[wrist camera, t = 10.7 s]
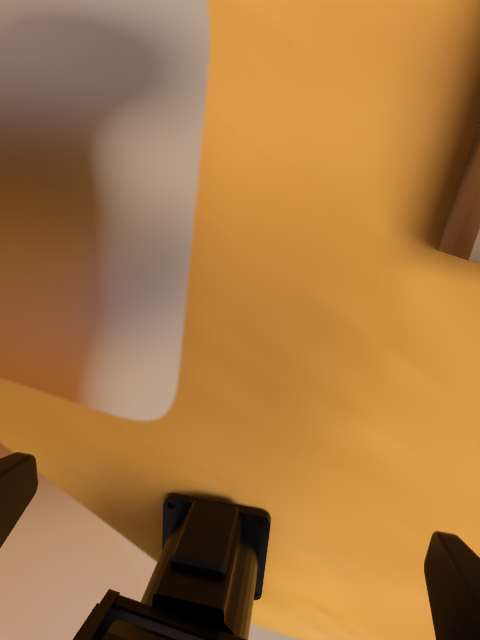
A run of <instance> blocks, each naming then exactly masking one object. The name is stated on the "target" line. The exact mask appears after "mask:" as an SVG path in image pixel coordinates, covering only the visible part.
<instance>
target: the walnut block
mask: <svg viewBox="0 0 480 640" xmlns="http://www.w3.org/2000/svg"><path fill="white" fill-rule="evenodd" d="M438 250H439V251H442V252H445V253H448V254H451V255H454V256H457V257H460V258H463V259H466V260H470V261H476V262H480V123H479V126H478V129H477V132H476V135H475V138H474V141H473V144H472V147H471V150H470V153H469V156H468V159H467V162H466V165H465V169H464V172H463V175H462V178H461V181H460V184H459V187H458V190H457V193H456V196H455V199H454V202H453V205H452V208H451V211H450V214H449V217H448V220H447V223H446V226H445V230H444V233H443V236H442V239H441V242H440V245H439V248H438Z"/></svg>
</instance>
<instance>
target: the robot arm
mask: <svg viewBox="0 0 480 640" xmlns="http://www.w3.org/2000/svg"><path fill="white" fill-rule="evenodd" d="M37 486H38V479H37V467H36V459H35V457H34V456H33V455H31V454H25V453H19V452H17V453H13V454H11V455H8V456H6V457H3V458H1V459H0V548H1V546H2V545H3V543H4V542H5V540H6V538H7V537H8V535H9V534H10V532H11V531H12V529H13V528H14V526H15V524H16V523H17V521H18V520H19V518H20V517H21V515H22V514H23V512H24V510H25V509H26V507H27V506H28V504H29V503H30V501H31V500H32V498H33V496H34V495H35V493H36V490H37ZM171 502H173V503H174V504H172V503H171ZM260 520H264V521H265V522H262V521H260ZM270 523H271V517H270V515H269V514H268V513H267V512H264V511H259V510H254V509H249V508H244V507H239V506H233V505H228V504H223V503H218V502H213V501H208V500H202V499H197V498H192V497H187V496H182V495H176V494H169V495H168V496H167V497H166V499H165V501H164V504H163V539H162V553H161V556H160V558H159V560H158V563H157V565H156V567H155V570H154V572H153V574H152V577H151V579H150V581H149V584H148V586H147V589H146V591H145V593H144V595H143V598H142V601H141V602H138V601H135V600H132V599H130V598H127V597H124V596H121V595H120V593H119V592H116V591H113V590H111V589H109V590H108V592H107V593H106V595H105V596H104V598H103V599H102V601H101V602H100V604H99V603H97V604H96V606H95V607H94V609H93V610H92V612H91V613H90V615H89V616H88V618H87V619H86V621H85V622H84V624H83V625H82V627H81V628H80V630H79V631H78V632H77V634H76V636H75V637H74V639H73V640H248V636H249V628H250V622H251V615H252V607H253V600H258V599H260V598H261V594H262V587H263V579H264V571H265V563H266V555H267V547H268V539H269V531H270ZM424 573H425V579H426V585H427V591H428V596H429V602H430V608H431V613H432V619H433V625H434V630H435V636H436V640H480V558H479V557H478V556H477V555H476V554H475V553H474V552H473V551H472V550H471V549H470V548H469V547H468V546H467V545H466V544H465V543H464V542H463V541H462V540H461V539H460V538H459V537H458V536H457V535H455V534H451V533H446V532H440V531H436V532H434V533H433V534H432V537H431V540H430V544H429V547H428V551H427V554H426V558H425V562H424Z"/></svg>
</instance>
